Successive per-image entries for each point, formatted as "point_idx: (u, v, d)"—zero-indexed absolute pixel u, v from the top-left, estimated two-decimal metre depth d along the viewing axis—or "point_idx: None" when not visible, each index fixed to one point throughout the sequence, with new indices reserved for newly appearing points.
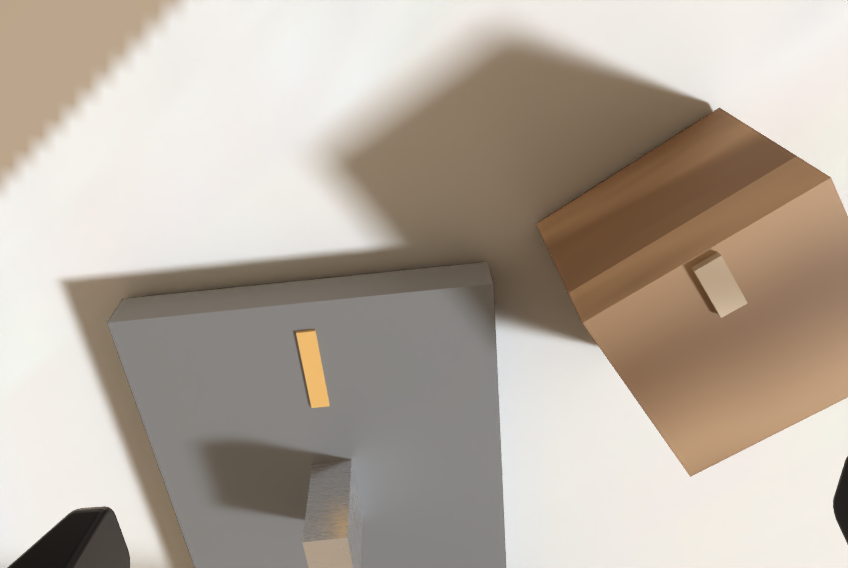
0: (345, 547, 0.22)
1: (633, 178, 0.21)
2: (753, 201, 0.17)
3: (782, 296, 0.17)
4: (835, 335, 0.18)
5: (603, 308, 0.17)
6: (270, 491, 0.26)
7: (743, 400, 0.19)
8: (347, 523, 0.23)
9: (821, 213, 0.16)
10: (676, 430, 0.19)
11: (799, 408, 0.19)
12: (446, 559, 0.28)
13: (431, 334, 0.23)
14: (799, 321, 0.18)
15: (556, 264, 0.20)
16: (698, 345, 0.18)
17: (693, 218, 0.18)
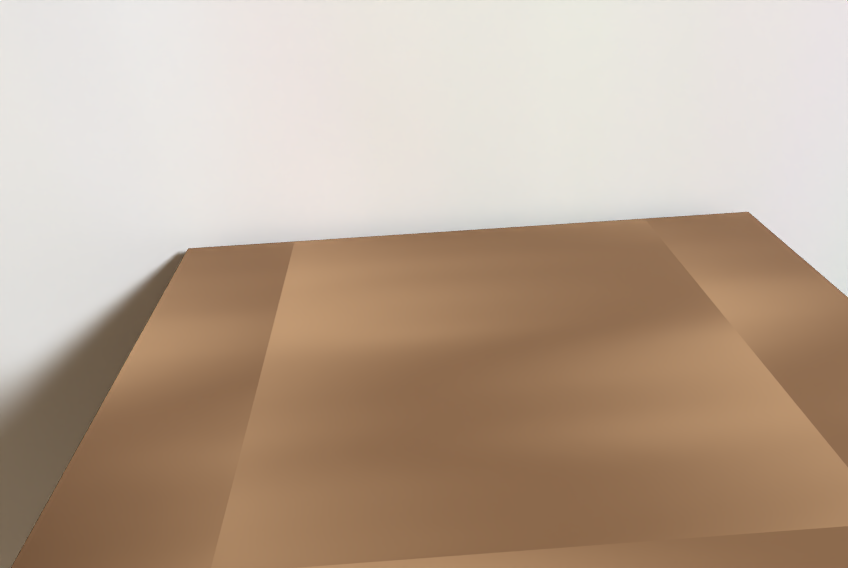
0: None
1: None
2: None
3: None
4: None
5: None
6: None
7: None
8: None
9: None
10: None
11: None
12: None
13: None
14: None
15: None
16: None
17: None
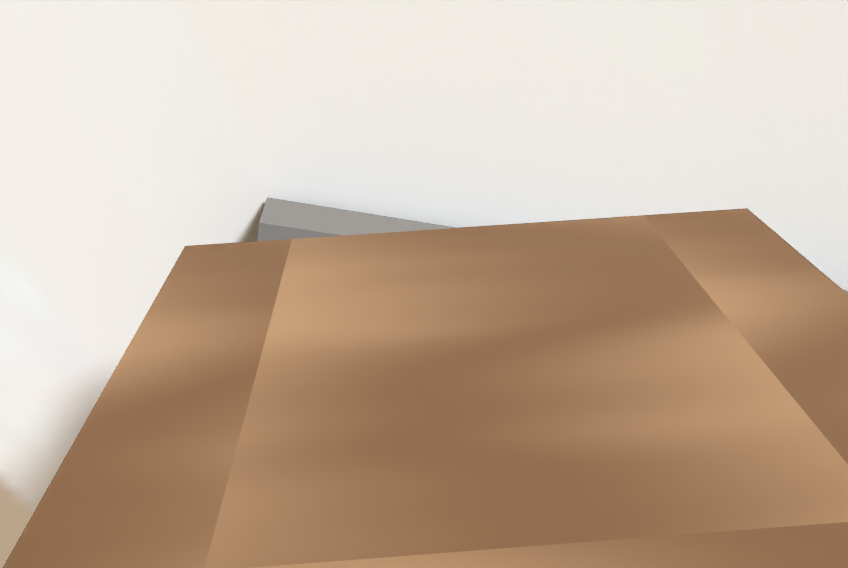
0: None
1: None
2: None
3: None
4: None
5: None
6: None
7: None
8: None
9: None
10: None
11: None
12: None
13: None
14: None
15: None
16: None
17: None
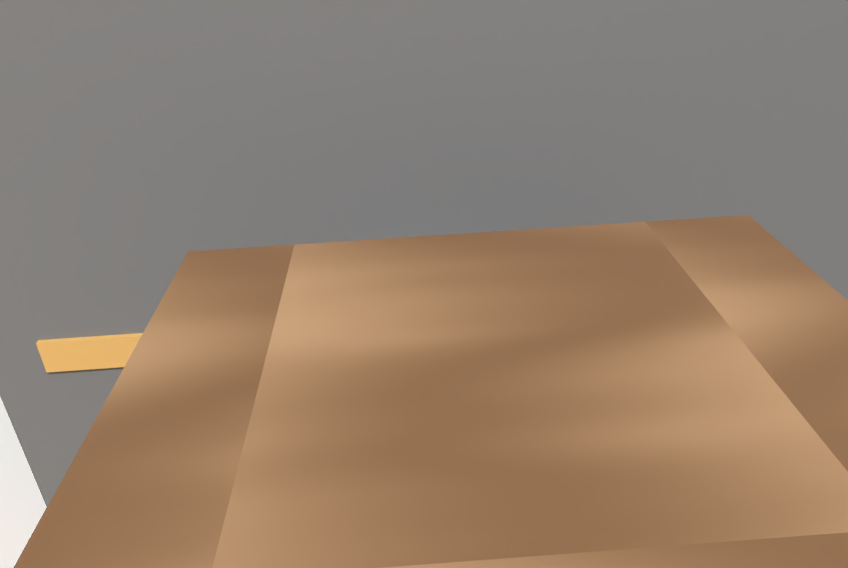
0: None
1: None
2: None
3: None
4: None
5: None
6: None
7: None
8: None
9: None
10: None
11: None
12: (716, 100, 0.11)
13: (5, 127, 0.10)
14: None
15: None
16: None
17: None
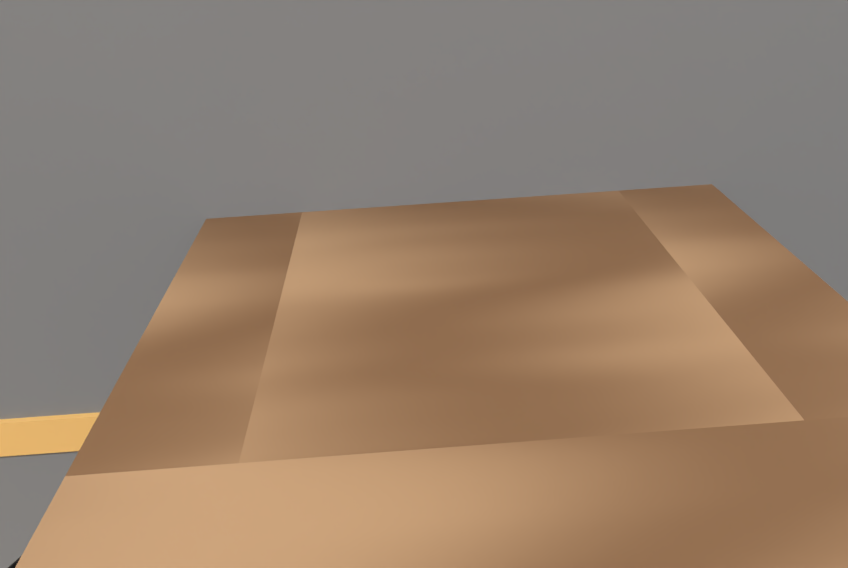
0: None
1: None
2: None
3: None
4: None
5: None
6: None
7: None
8: None
9: None
10: None
11: None
12: (792, 142, 0.09)
13: None
14: None
15: None
16: None
17: None
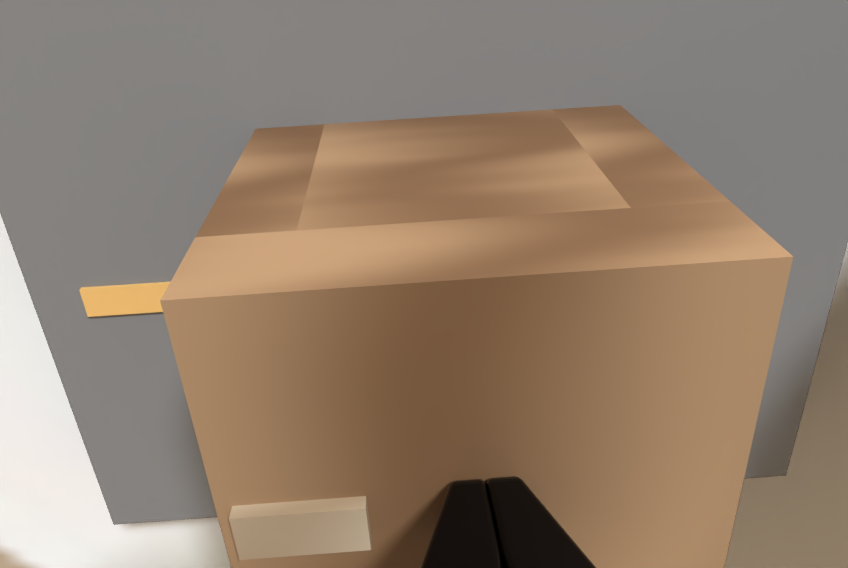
0: None
1: None
2: None
3: (403, 440, 0.08)
4: (575, 379, 0.08)
5: None
6: None
7: (604, 548, 0.09)
8: None
9: (240, 336, 0.07)
10: None
11: (706, 478, 0.09)
12: (676, 73, 0.12)
13: (58, 95, 0.12)
14: (486, 429, 0.08)
15: None
16: None
17: None
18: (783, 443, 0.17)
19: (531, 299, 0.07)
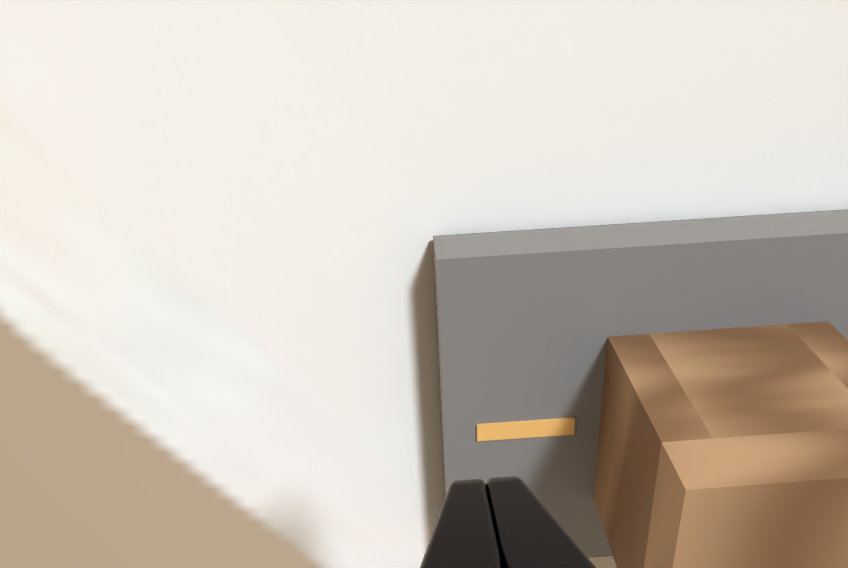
0: None
1: (608, 443, 0.21)
2: (665, 513, 0.16)
3: (775, 548, 0.16)
4: None
5: None
6: None
7: None
8: None
9: (716, 503, 0.15)
10: None
11: None
12: None
13: (497, 321, 0.20)
14: (817, 543, 0.16)
15: None
16: None
17: (650, 526, 0.18)
18: None
19: None
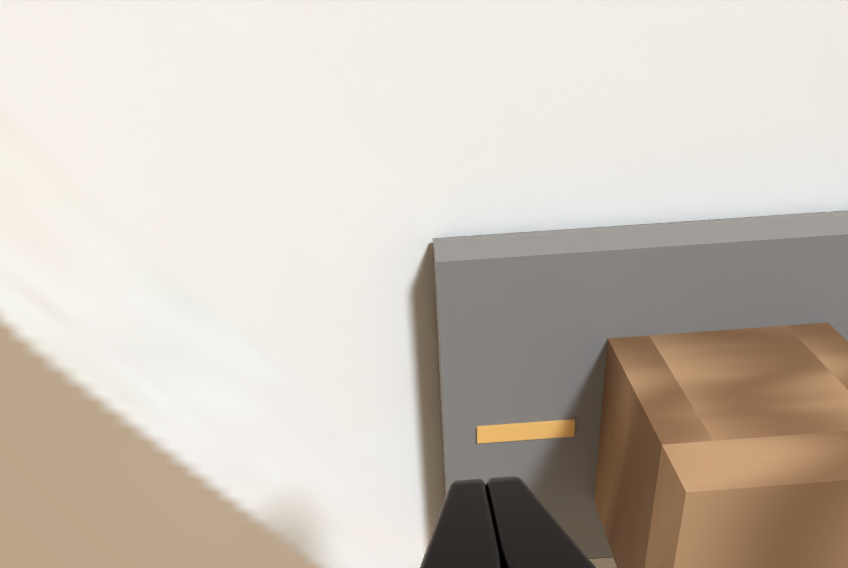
0: None
1: (608, 445, 0.21)
2: (666, 515, 0.16)
3: (775, 550, 0.16)
4: None
5: None
6: None
7: None
8: None
9: (716, 506, 0.15)
10: None
11: None
12: None
13: (497, 323, 0.20)
14: (818, 545, 0.16)
15: None
16: None
17: (650, 529, 0.18)
18: None
19: None
